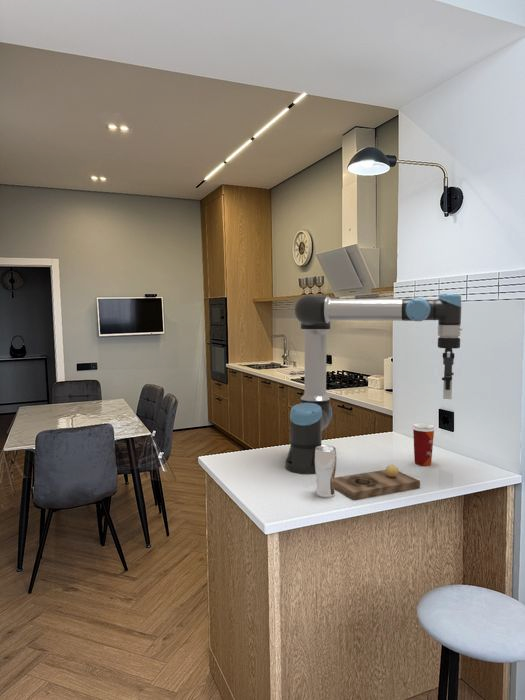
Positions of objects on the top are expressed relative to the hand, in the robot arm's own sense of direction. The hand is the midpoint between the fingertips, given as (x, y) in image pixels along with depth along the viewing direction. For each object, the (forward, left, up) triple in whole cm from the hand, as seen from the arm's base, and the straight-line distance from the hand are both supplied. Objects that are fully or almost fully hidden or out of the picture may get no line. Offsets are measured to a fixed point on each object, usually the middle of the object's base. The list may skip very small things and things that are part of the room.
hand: (447, 395), depth 177 cm
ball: (-17, -20, -23) cm, 35 cm away
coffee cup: (-8, +7, -28) cm, 30 cm away
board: (-22, -25, -28) cm, 44 cm away
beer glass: (-36, -37, -28) cm, 59 cm away
